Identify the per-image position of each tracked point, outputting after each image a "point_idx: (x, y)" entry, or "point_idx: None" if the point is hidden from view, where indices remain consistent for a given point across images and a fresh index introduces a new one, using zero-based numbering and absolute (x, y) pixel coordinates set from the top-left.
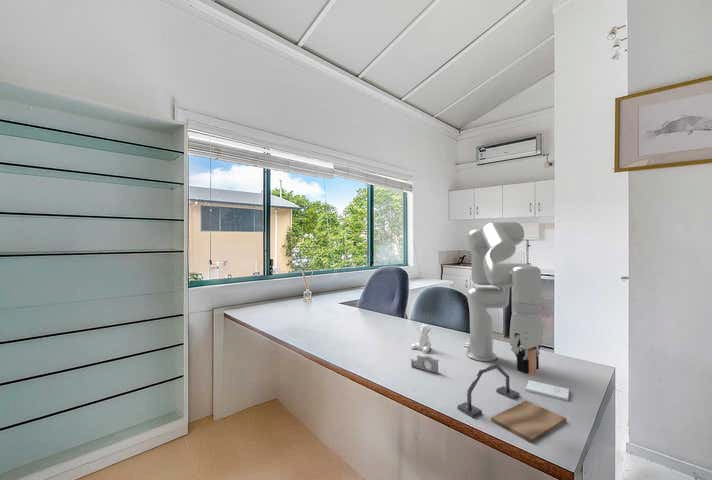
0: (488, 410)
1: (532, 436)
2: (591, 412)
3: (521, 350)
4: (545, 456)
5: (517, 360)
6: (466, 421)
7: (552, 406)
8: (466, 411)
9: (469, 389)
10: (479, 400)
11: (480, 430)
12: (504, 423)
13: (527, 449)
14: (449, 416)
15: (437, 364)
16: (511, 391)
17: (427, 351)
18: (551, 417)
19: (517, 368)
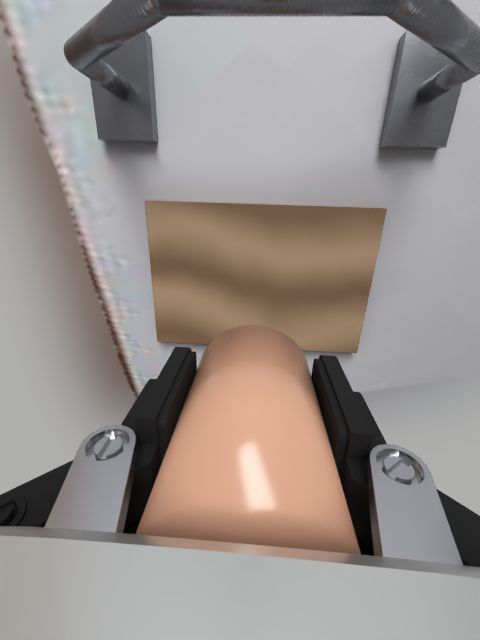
0: (202, 142)
1: (170, 337)
2: (476, 372)
3: (137, 533)
4: (143, 376)
5: (150, 397)
6: (63, 142)
7: (432, 282)
8: (94, 97)
9: (68, 49)
10: (244, 47)
11: (72, 213)
12: (156, 252)
13: (127, 341)
14: (20, 66)
15: None
16: (435, 109)
17: None
18: (322, 326)
19: (172, 354)
